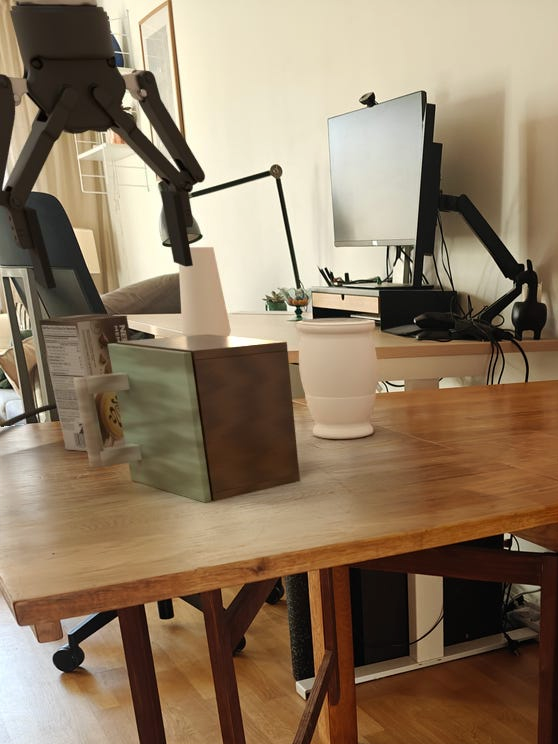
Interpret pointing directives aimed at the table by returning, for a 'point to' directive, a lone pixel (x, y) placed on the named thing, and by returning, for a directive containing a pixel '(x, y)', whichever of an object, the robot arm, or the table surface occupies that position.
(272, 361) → the cupboard
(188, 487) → the cupboard door
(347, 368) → the jar
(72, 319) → the coffee box
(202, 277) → the white tapered column
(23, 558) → the table surface
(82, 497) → the table surface
